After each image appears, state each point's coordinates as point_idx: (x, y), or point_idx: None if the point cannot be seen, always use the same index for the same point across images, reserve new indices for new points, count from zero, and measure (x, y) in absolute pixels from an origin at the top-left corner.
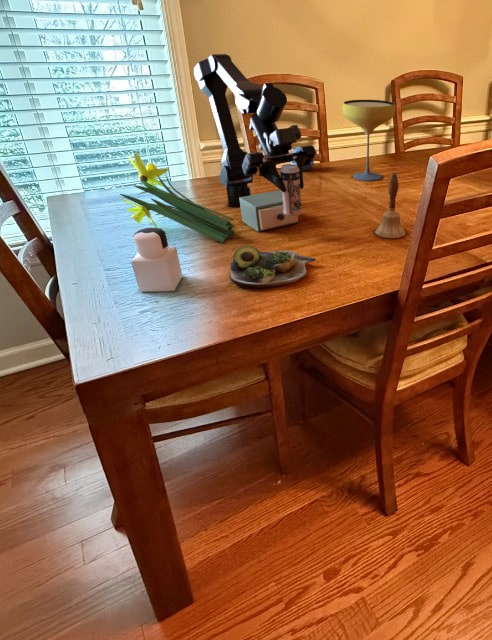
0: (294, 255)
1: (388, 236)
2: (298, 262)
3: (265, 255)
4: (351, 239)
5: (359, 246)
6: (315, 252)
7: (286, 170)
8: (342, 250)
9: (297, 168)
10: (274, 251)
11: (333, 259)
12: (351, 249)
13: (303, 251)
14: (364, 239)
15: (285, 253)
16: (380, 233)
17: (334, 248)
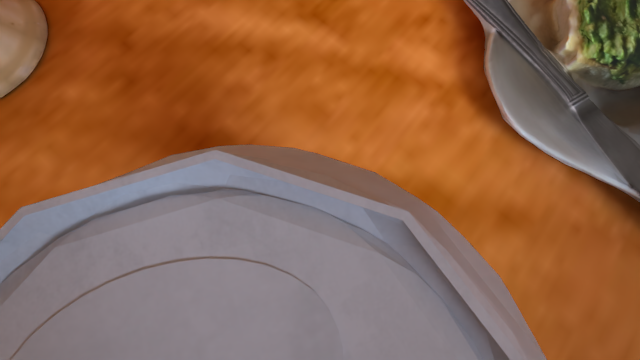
0: (524, 42)
1: (34, 6)
2: (532, 3)
3: (638, 134)
4: (151, 102)
5: (188, 28)
6: (370, 96)
7: (493, 297)
8: (269, 42)
9: (81, 193)
10: (567, 158)
11: (357, 3)
12: (234, 27)
13: (405, 138)
14: (113, 66)
15: (596, 15)
16: (32, 37)
17: (278, 77)
